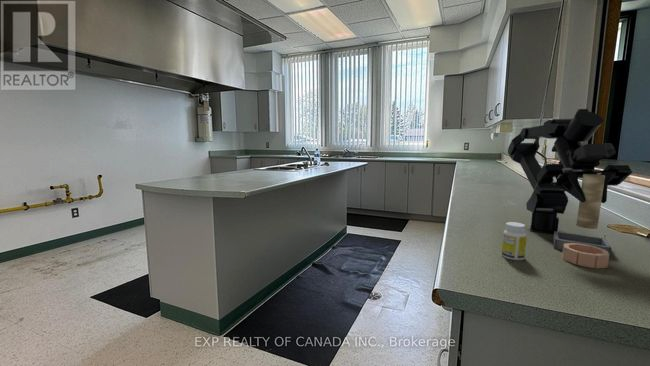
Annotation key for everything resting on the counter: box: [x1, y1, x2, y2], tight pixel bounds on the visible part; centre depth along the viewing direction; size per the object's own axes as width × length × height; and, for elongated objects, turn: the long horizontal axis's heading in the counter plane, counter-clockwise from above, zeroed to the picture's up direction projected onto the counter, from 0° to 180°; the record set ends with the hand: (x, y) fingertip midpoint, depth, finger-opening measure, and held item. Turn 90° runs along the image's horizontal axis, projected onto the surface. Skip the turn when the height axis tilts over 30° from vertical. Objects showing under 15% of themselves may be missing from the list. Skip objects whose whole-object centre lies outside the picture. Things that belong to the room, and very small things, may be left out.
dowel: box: [576, 174, 605, 230], centre depth 73 cm, size 4×4×13 cm
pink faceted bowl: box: [561, 243, 610, 269], centre depth 71 cm, size 8×8×3 cm
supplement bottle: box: [501, 221, 527, 261], centre depth 73 cm, size 5×5×8 cm
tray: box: [552, 230, 613, 258], centre depth 79 cm, size 11×9×2 cm
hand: (594, 201), depth 72 cm, fingers closed on dowel, 4 cm apart
